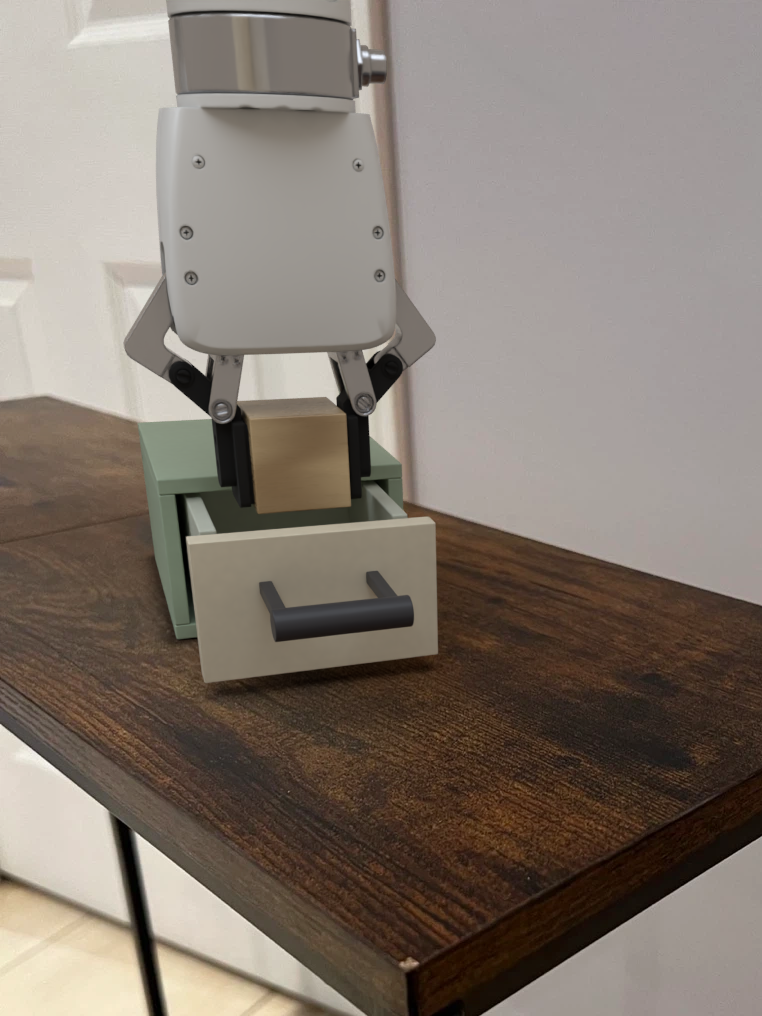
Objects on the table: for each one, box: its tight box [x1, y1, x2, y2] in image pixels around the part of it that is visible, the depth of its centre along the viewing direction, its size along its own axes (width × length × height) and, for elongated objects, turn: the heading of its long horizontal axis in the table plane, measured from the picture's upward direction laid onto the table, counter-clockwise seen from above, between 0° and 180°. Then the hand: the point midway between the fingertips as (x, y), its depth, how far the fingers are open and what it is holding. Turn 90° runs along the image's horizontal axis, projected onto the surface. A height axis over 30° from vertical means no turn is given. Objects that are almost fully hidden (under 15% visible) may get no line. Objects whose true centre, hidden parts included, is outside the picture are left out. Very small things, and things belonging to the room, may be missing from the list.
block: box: [237, 396, 351, 514], centre depth 56 cm, size 4×4×4 cm
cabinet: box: [137, 418, 404, 640], centre depth 67 cm, size 15×13×9 cm
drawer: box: [179, 480, 439, 684], centre depth 57 cm, size 19×11×7 cm, turn 21°
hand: (296, 492), depth 57 cm, fingers closed on block, 4 cm apart
